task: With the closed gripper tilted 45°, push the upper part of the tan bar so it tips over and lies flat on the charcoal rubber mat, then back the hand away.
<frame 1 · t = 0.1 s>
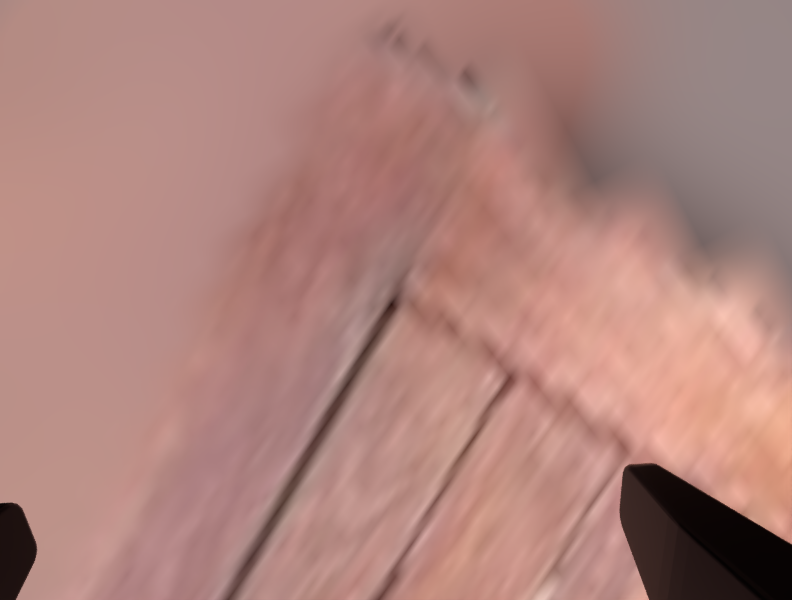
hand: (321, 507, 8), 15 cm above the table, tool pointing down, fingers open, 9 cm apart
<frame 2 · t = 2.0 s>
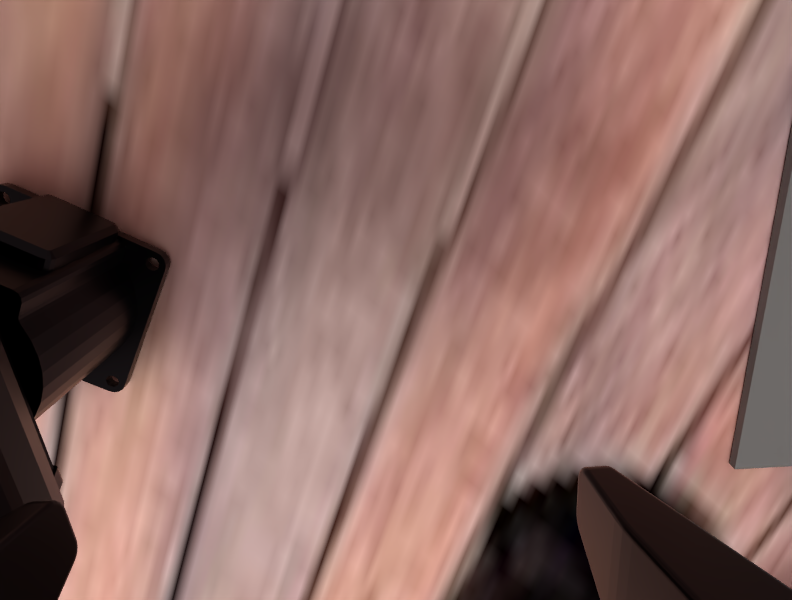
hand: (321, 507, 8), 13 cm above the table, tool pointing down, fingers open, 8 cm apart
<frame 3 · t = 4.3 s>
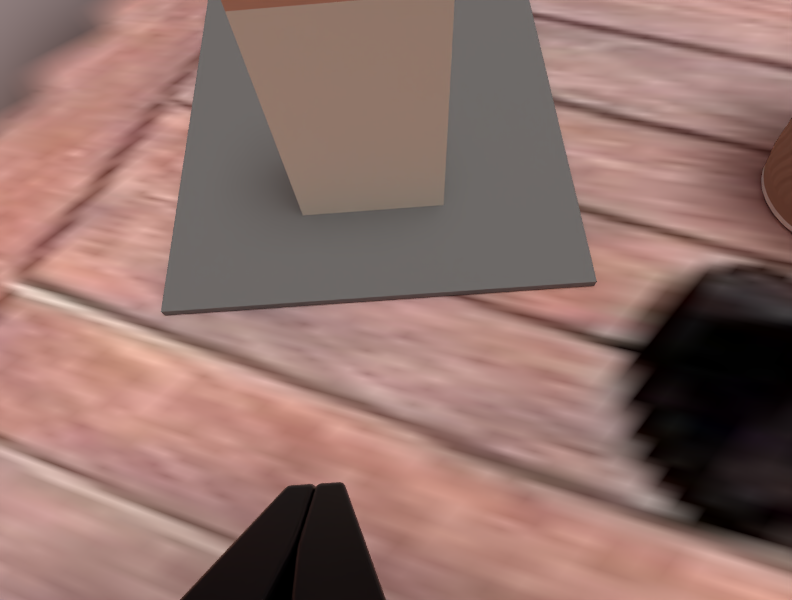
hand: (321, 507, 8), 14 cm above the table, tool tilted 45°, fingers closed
tan bar: (371, 181, 26), resting on mat
mat: (368, 93, 29), on the table
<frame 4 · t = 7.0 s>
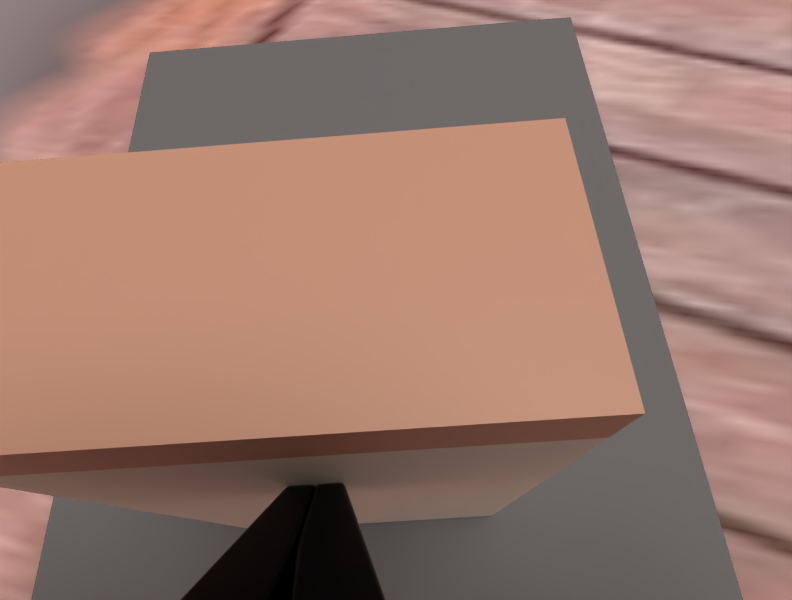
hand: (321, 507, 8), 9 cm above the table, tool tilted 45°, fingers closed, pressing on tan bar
tan bar: (371, 461, 16), resting on mat, touching gripper
mat: (366, 282, 19), on the table
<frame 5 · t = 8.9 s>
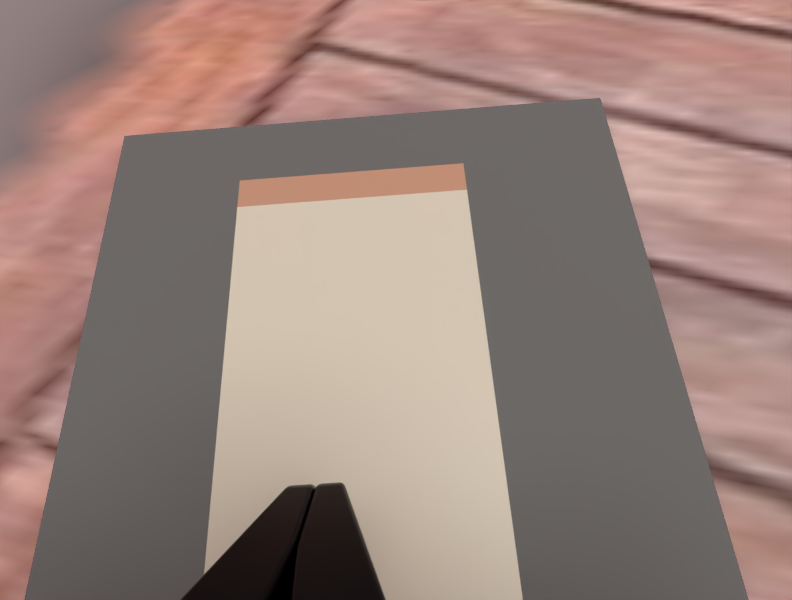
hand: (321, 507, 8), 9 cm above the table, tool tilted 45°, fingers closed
mat: (370, 434, 17), on the table
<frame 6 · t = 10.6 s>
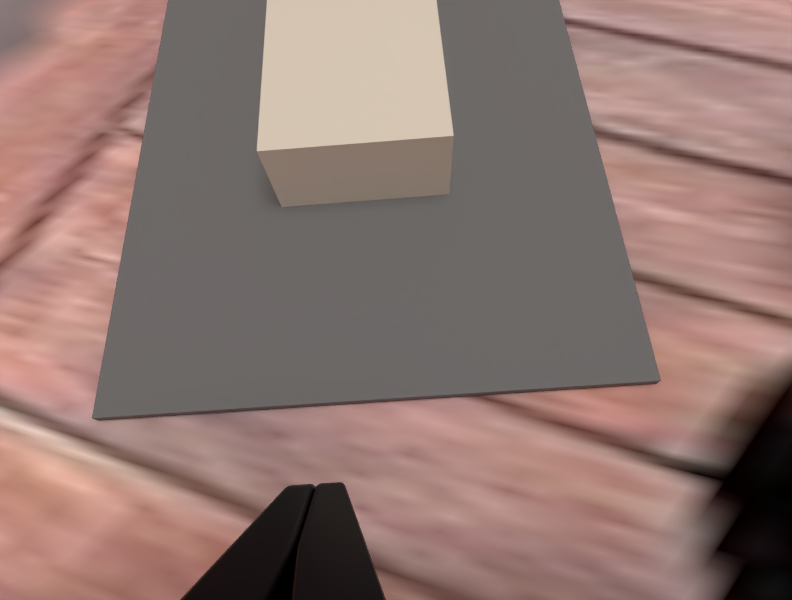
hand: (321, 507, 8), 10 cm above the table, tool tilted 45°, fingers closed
tan bar: (360, 174, 20), point 2 cm above the table, tilted 90°, touching mat
mat: (363, 120, 24), on the table
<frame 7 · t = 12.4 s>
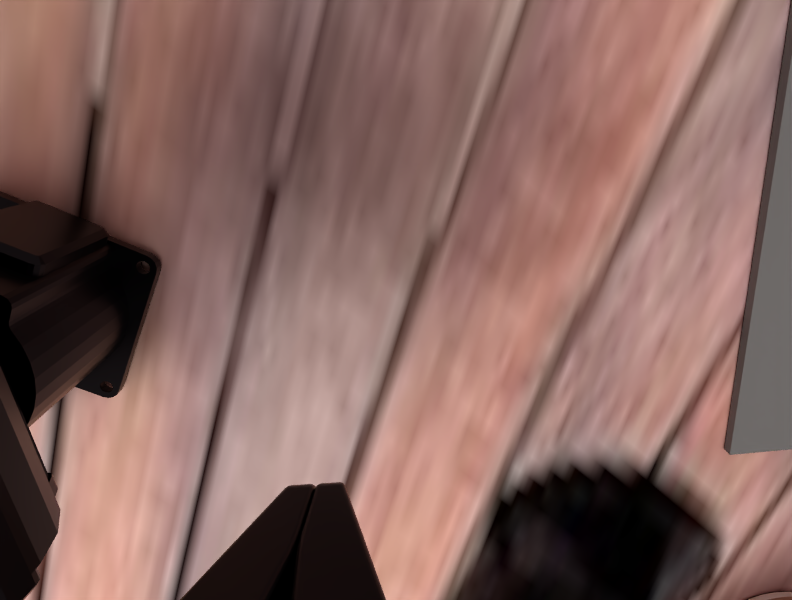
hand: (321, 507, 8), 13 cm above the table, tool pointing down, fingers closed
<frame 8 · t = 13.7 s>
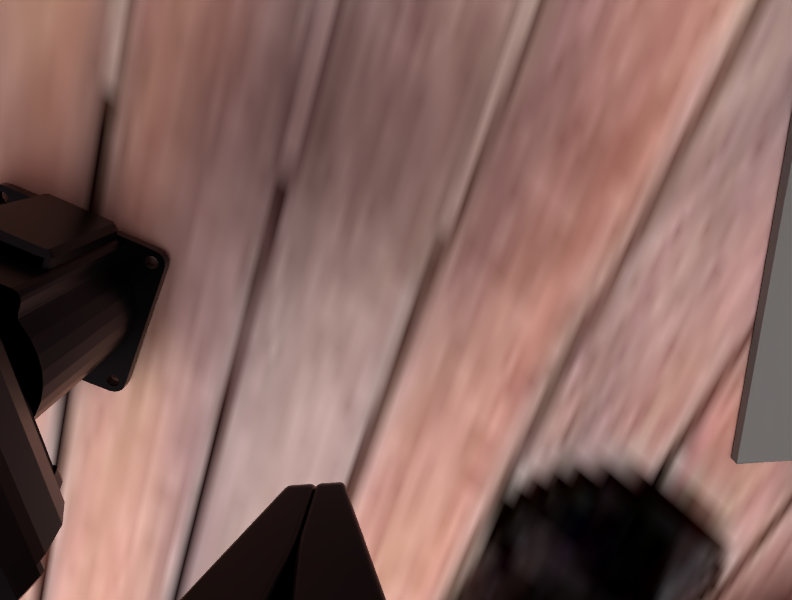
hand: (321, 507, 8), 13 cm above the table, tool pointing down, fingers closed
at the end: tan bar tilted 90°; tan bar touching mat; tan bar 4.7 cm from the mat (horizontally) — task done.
